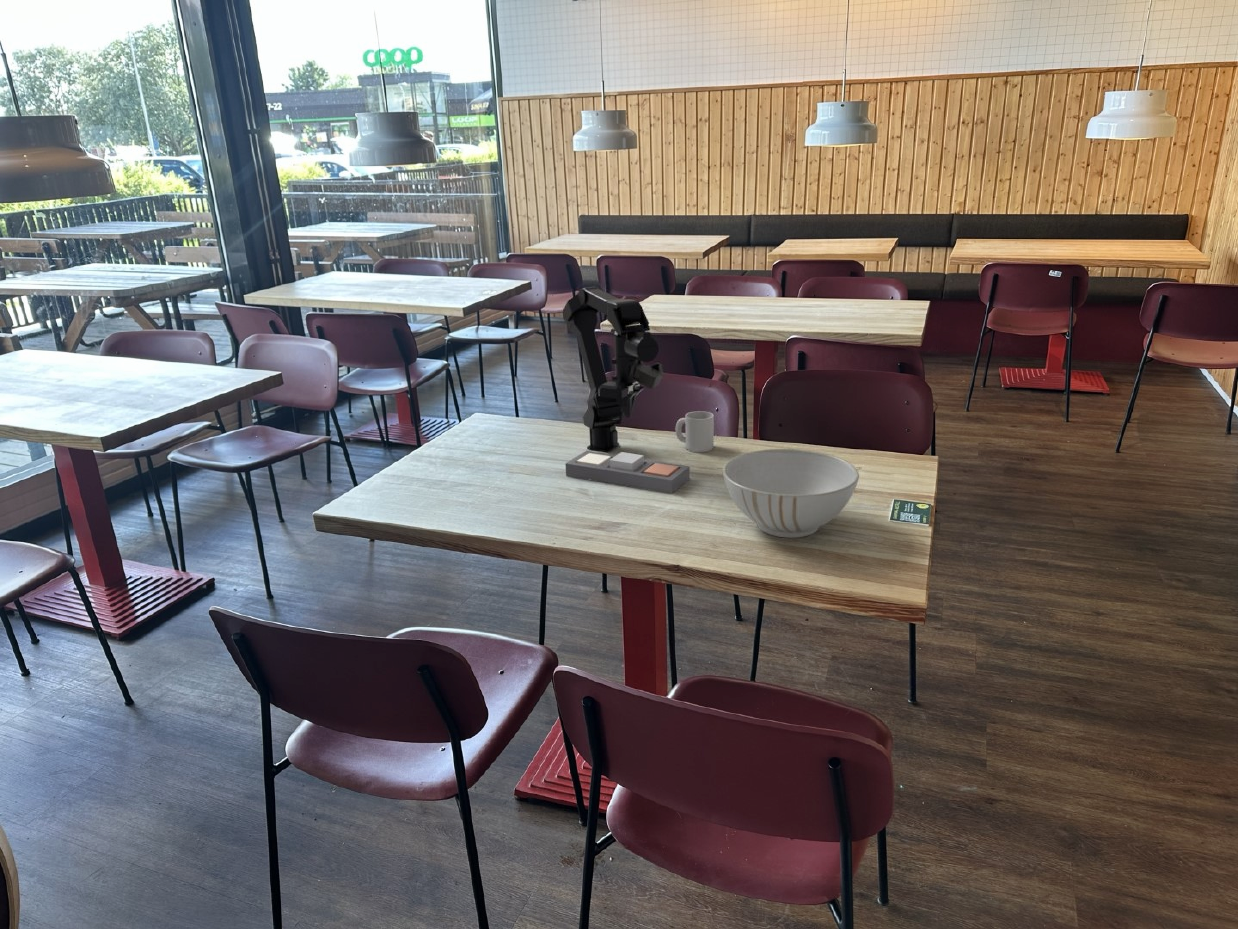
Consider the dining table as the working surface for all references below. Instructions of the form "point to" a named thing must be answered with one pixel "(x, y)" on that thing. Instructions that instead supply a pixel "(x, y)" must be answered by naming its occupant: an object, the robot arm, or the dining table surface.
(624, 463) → the grey key
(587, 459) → the cream key
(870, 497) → the dining table surface
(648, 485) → the frame
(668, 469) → the terracotta key
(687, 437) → the cup
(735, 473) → the decorative bowl
